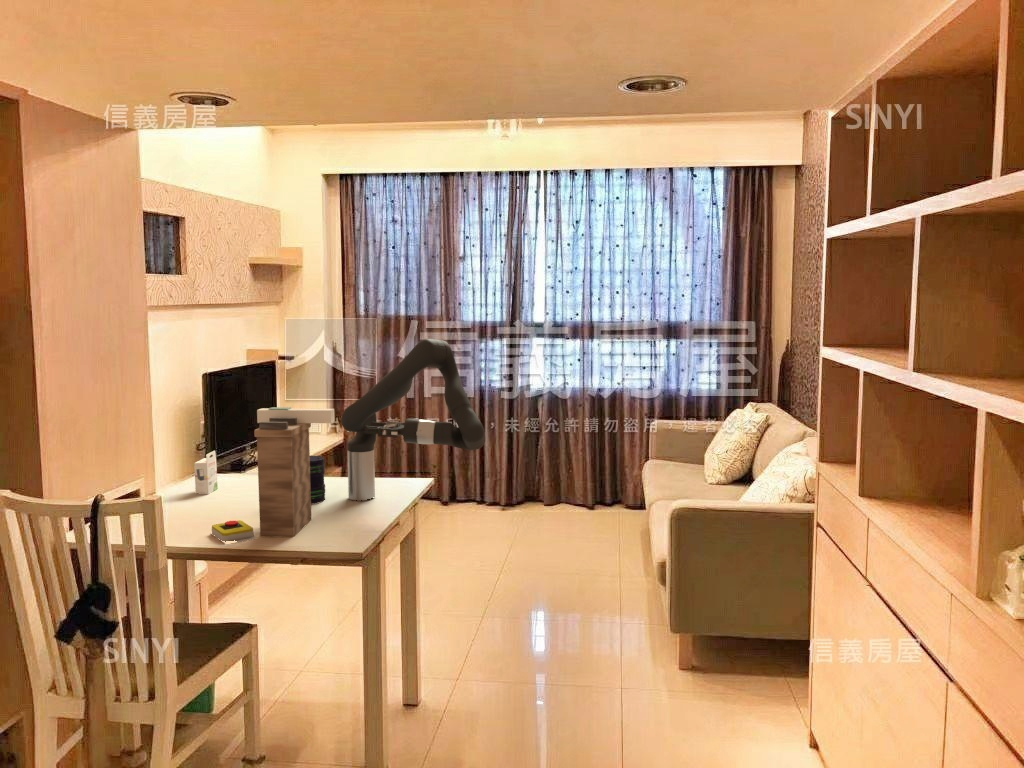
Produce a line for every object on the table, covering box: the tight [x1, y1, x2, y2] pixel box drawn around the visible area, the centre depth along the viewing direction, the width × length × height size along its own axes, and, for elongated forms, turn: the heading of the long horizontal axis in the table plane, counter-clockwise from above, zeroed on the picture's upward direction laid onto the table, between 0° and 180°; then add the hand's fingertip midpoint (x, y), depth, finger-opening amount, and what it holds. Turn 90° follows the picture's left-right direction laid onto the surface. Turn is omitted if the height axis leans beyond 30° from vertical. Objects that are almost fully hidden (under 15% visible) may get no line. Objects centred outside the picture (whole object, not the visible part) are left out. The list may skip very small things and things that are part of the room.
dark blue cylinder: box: [310, 455, 326, 505], centre depth 275 cm, size 10×10×15 cm
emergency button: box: [211, 519, 257, 543], centre depth 234 cm, size 9×4×15 cm
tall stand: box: [253, 418, 312, 537], centre depth 240 cm, size 19×11×34 cm, turn 178°
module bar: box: [256, 406, 336, 424], centre depth 245 cm, size 4×23×4 cm, turn 88°
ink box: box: [193, 450, 219, 495], centre depth 288 cm, size 9×5×15 cm, turn 178°
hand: (368, 427), depth 243 cm, fingers open, 8 cm apart
